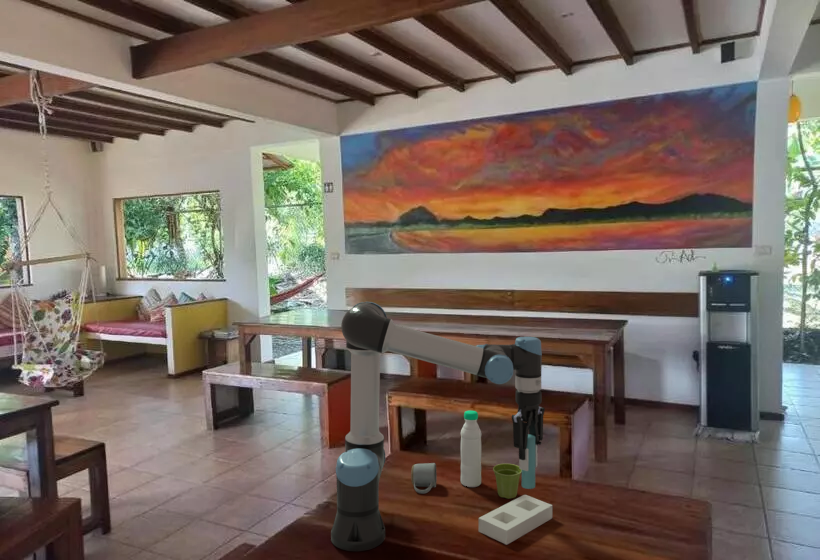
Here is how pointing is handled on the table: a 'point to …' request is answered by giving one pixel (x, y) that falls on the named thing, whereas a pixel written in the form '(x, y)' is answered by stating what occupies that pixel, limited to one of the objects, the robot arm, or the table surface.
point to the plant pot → (507, 479)
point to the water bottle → (471, 450)
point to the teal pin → (530, 465)
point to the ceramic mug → (424, 476)
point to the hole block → (515, 519)
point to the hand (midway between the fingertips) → (528, 467)
